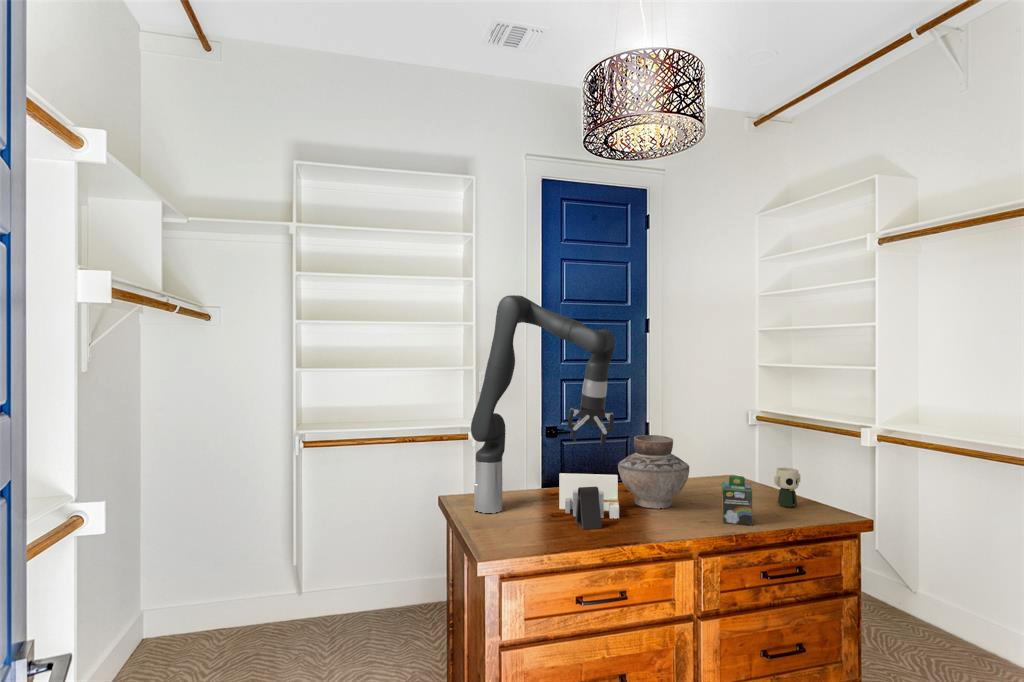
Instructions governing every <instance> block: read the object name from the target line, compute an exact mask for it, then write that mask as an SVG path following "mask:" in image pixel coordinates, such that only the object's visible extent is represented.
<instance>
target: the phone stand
mask: <svg viewBox="0 0 1024 682" xmlns="http://www.w3.org/2000/svg"><path fill="white" fill-rule="evenodd" d="M574 518H575V519H574V520H575V523H576V524H577V525H578V526H579V527H580V528H581V529H582V530H585V531H586V529H588V530H602V529H603V527H602V526H603V524H602V518H601V514H600V505H599V490H598V487H579V488H578V501H577V510H576V517H574Z"/></svg>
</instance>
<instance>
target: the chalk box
mask: <svg viewBox="0 0 1024 682" xmlns="http://www.w3.org/2000/svg"><path fill="white" fill-rule="evenodd" d="M728 477H729V478H728V482H727V481H723V482H722V483H721V497H722V502H721V504H722V507H721V508H722V523H723V524H733V525H741V524H743V525H742V526H750V525H752V526H753V525H754V524H753V489H752V485H751V483H750V482H745V481H746V480H745V476H742V475H729V476H728ZM735 480H739V482H735Z"/></svg>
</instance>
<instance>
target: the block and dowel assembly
mask: <svg viewBox="0 0 1024 682" xmlns="http://www.w3.org/2000/svg"><path fill="white" fill-rule="evenodd" d="M577 501H578V491H576V490H573V509H572V516H573V517H574V518H576V510H577ZM604 502H615V503H618V504H620V501H619V499H618V500H605V499H604V492H603V491H599V505H600V514H601V519H604V518H605V516H604V515H605V514H604V512H605V511H604Z"/></svg>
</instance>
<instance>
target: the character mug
mask: <svg viewBox="0 0 1024 682" xmlns="http://www.w3.org/2000/svg"><path fill="white" fill-rule="evenodd" d="M773 480H774V485H776V486H777V487H778V488H780V489H779V491H778V497H777V498H778V499H777V504H779V505H781V506H782V507H787V508H789V507H790V508H794V507H798V501H797V493H796V491H795V490H797V489H798V488H799V486H800V485H799V484H800V483H801V474H800V473H799V470H798V469H796V468H793V467H785V466H784V467H777V468H776V473H775V475H774V479H773Z"/></svg>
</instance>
